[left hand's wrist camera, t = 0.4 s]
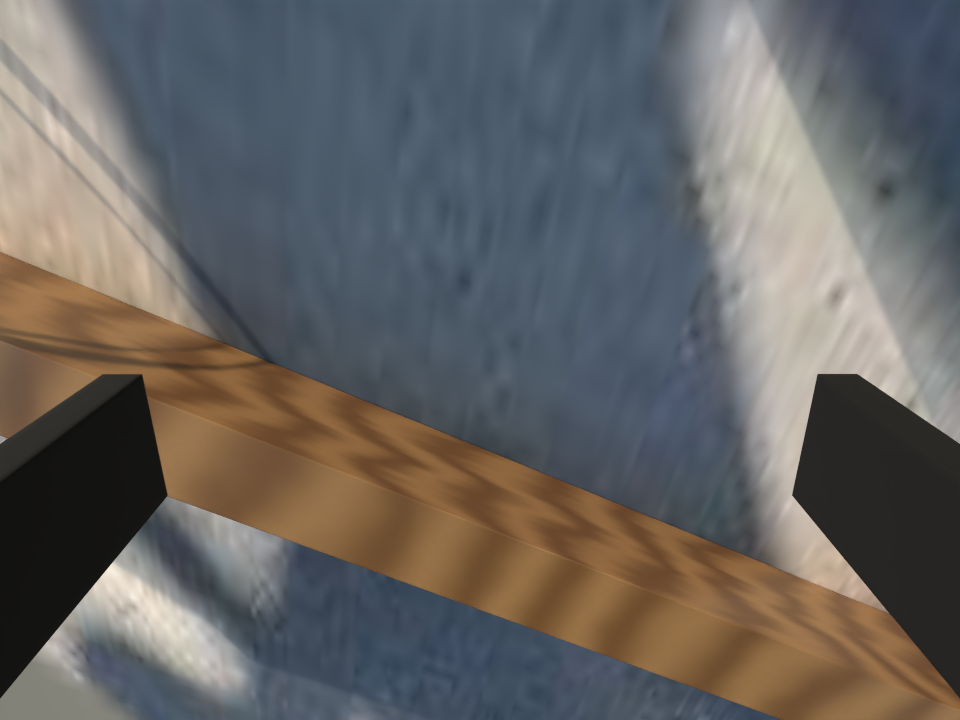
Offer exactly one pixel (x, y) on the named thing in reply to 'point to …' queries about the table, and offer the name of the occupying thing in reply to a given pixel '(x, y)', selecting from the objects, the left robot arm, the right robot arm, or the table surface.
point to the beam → (461, 516)
